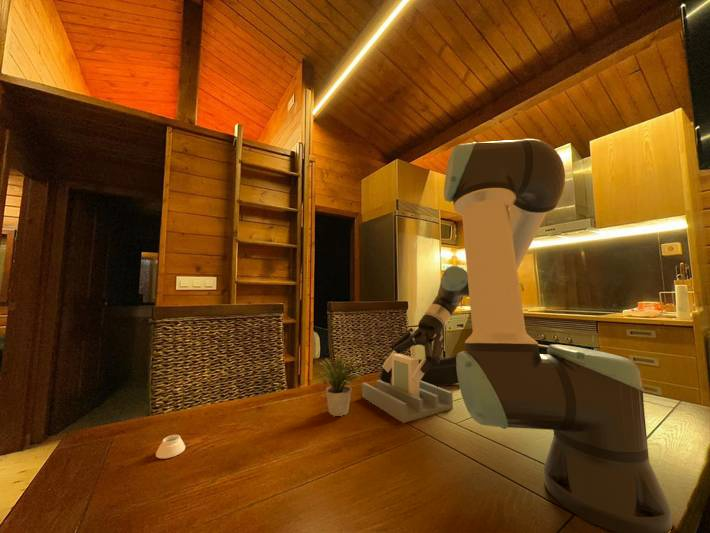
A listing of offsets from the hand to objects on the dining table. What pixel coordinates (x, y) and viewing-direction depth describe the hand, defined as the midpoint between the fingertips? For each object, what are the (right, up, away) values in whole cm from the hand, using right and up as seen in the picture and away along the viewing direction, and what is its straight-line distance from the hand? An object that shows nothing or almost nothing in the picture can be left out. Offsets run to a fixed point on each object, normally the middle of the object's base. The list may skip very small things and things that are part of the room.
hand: (398, 374), depth 84 cm
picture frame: (+2, -7, +1) cm, 7 cm away
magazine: (+11, -10, +17) cm, 23 cm away
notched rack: (+2, -9, 0) cm, 9 cm away
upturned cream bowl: (-51, -6, -26) cm, 58 cm away
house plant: (-18, -8, -8) cm, 21 cm away
